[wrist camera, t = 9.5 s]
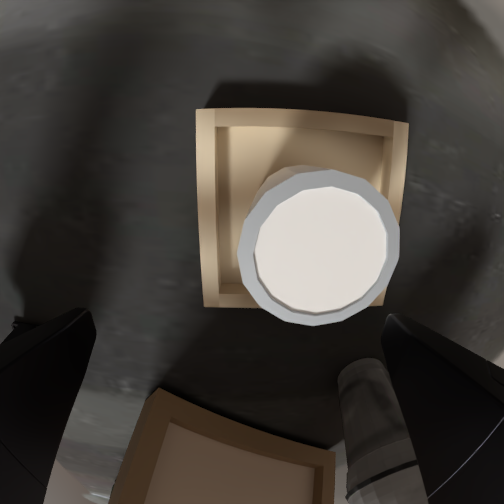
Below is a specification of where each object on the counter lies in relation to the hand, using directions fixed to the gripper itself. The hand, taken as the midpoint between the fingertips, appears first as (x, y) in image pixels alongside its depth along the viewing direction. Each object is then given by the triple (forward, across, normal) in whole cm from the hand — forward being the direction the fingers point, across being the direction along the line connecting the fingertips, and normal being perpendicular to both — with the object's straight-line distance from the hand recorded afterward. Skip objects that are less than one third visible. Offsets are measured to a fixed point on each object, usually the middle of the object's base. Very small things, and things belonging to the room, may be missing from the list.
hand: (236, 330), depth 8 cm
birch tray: (+12, -4, -1) cm, 12 cm away
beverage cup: (+12, -11, +14) cm, 21 cm away
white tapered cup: (+11, -3, -1) cm, 12 cm away
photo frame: (+12, +2, +27) cm, 30 cm away
